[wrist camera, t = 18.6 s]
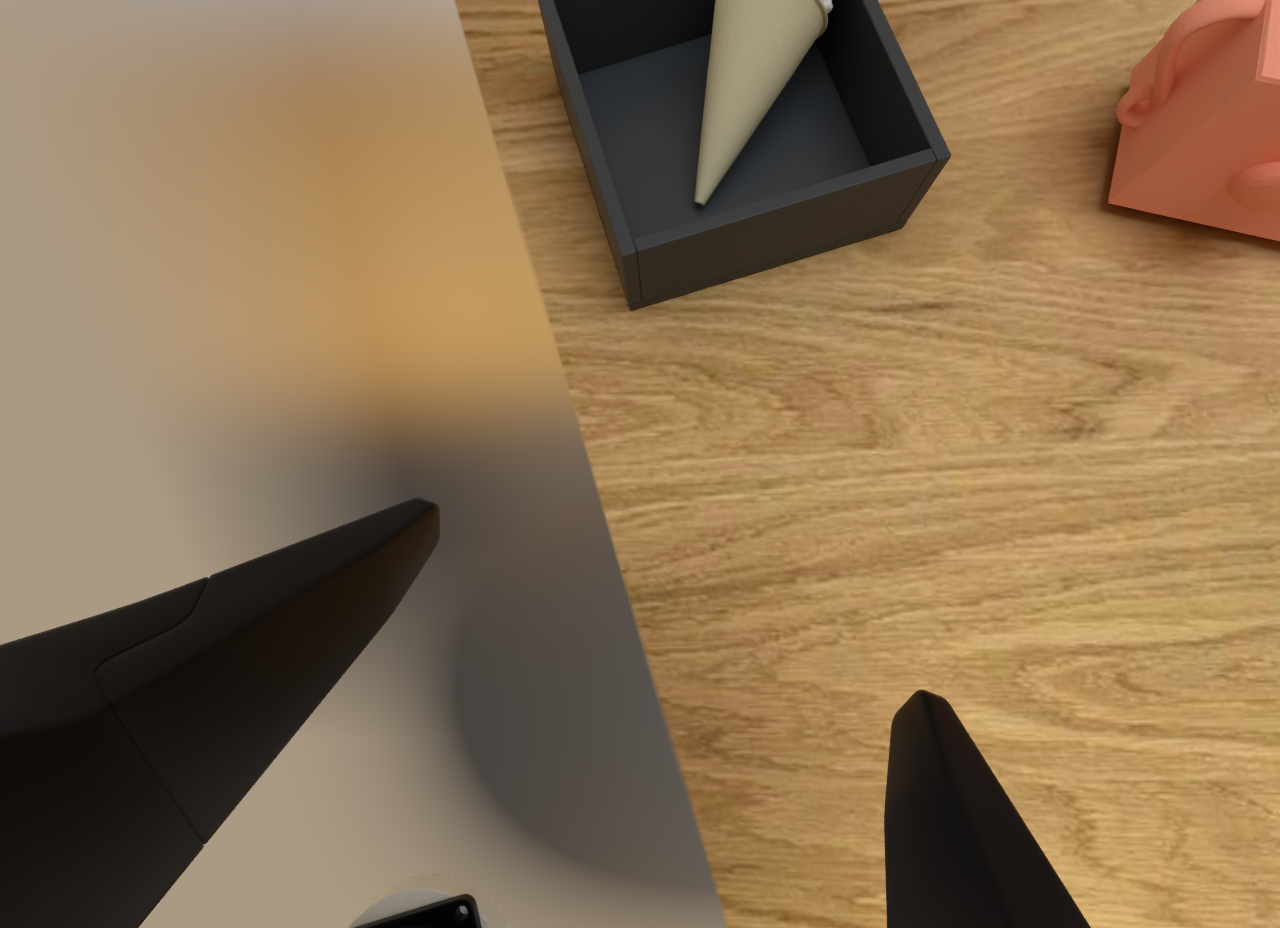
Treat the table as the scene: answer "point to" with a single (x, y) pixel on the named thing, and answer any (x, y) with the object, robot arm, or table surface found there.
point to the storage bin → (768, 163)
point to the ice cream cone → (749, 74)
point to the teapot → (1206, 121)
